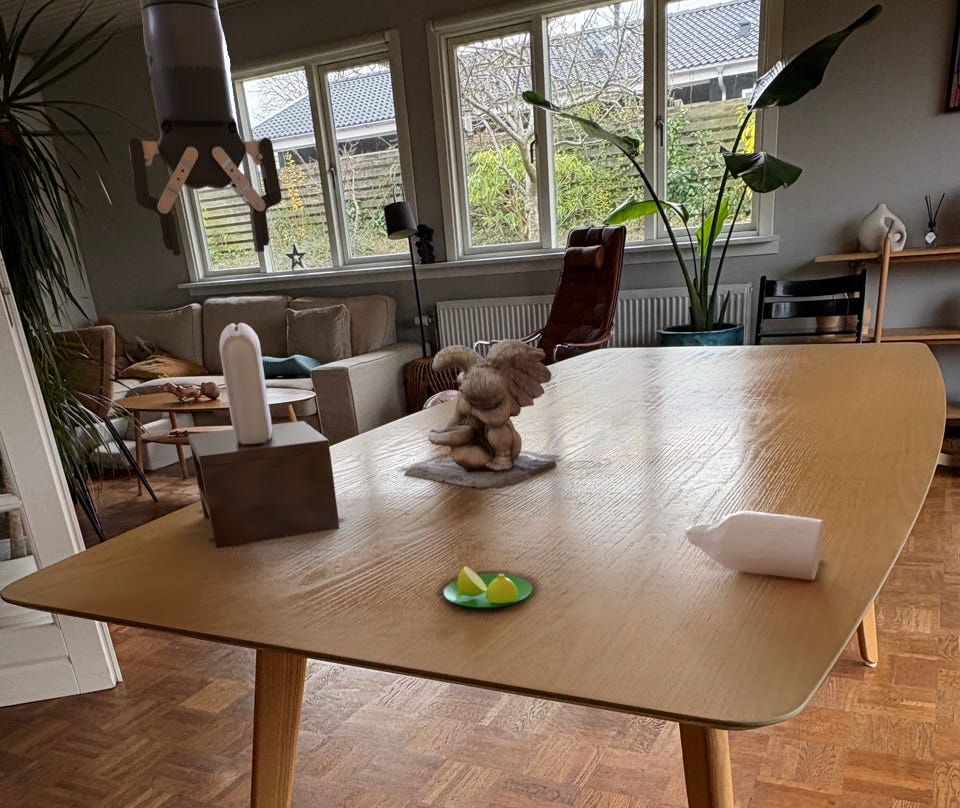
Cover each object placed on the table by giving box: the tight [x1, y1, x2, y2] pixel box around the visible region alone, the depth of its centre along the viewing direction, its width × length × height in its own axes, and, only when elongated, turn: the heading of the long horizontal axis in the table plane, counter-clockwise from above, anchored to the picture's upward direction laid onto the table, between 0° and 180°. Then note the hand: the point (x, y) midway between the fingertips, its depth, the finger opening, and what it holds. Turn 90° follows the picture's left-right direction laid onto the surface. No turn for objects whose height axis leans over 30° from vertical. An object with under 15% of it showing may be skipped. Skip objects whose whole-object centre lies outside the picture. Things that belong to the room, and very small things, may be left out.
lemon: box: [443, 566, 533, 610], centre depth 75 cm, size 8×8×3 cm
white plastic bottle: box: [684, 510, 825, 581], centre depth 77 cm, size 6×12×6 cm, turn 63°
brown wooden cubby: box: [187, 420, 340, 548], centre depth 99 cm, size 14×14×10 cm
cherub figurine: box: [403, 338, 557, 490], centre depth 116 cm, size 18×18×18 cm
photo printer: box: [218, 322, 273, 444], centre depth 94 cm, size 10×4×12 cm, turn 13°
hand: (218, 253), depth 88 cm, fingers open, 8 cm apart
